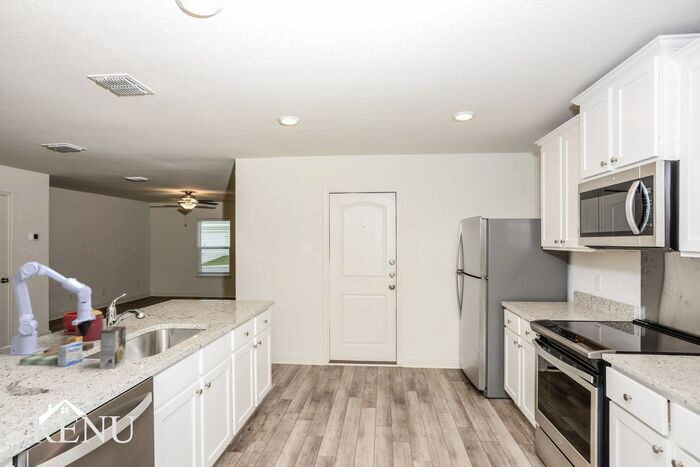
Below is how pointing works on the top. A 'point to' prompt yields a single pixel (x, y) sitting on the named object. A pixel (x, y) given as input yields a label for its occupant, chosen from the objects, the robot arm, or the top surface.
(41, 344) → the top surface
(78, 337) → the block
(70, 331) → the plant pot
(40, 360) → the wooden slab structure
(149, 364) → the top surface
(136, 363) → the top surface
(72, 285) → the robot arm
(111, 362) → the coffee box
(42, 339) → the top surface
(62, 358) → the medicine box
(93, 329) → the canister
